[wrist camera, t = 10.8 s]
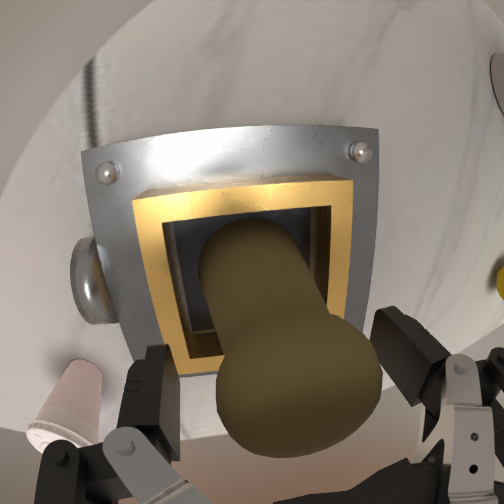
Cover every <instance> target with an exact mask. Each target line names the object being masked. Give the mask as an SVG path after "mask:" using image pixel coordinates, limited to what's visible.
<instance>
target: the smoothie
mask: <svg viewBox="0 0 504 504" xmlns="http://www.w3.org/2000/svg"><path fill="white" fill-rule="evenodd" d="M102 385H103V374H102V372H101V371H100V370H99V368H98V367H97V366H95V365H94V364H92V363H91V362H89V361H86V360H82V359H76V360H73V361H72V362H71V363H70V364H69V366H68V367H67V369H66V370H65V372H64V373H63V375H62V377H61V378H60V380H59V381H58V383H57V384H56V386H55V388H54V389H53V391H52V392H51V394H50V396H49V397H48V399H47V401H46V402H45V404H44V406H43V407H42V409H41V410H40V412H39V414H38V416H37V418H36V420H32V421H31V422H30V423H29V427H28V429H27V432H26V435H27V438H28V439H29V441H30V442H31V444H32V445H33V446H34V447H35V448H36V449H37V450H38V451H40V452H41V453H42V454H43V451H44V449H45V448H46V446H47V445H48V444H49V443H51V442H53V441H55V440H59V439H64V440H68V441H70V442H72V443H73V444H74V445H75V446H76V447H77V448H80V447H85V446H90V445H95V444H98V429H99V415H100V404H101V394H102Z"/></svg>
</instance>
